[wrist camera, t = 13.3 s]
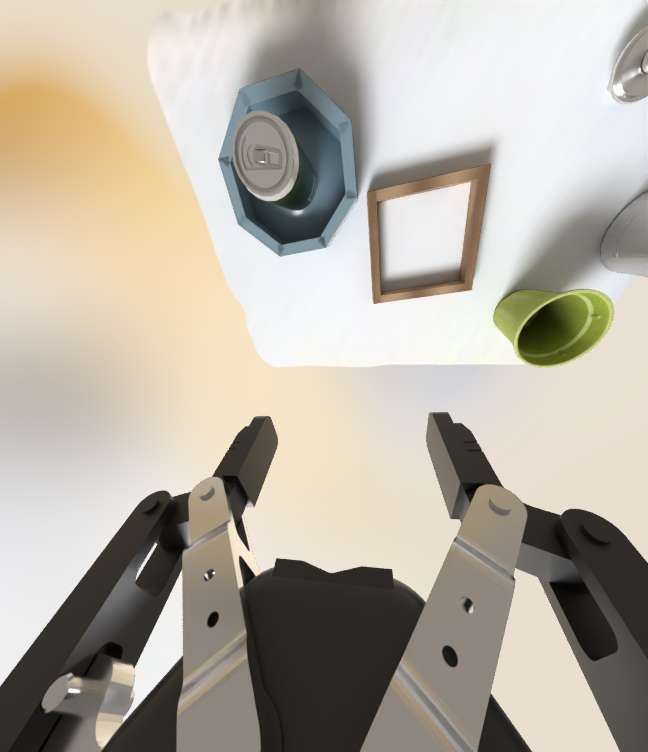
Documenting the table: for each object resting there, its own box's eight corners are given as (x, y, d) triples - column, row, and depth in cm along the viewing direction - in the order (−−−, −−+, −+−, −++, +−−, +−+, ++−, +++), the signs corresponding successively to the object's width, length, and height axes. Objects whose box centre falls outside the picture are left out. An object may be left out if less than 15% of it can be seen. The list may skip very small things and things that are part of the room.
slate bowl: (347, 80, 24) (346, 51, 20) (359, 240, 31) (360, 241, 27) (222, 121, 26) (200, 102, 22) (261, 259, 34) (249, 262, 30)
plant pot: (567, 273, 30) (635, 285, 23) (539, 339, 35) (588, 366, 28) (490, 279, 32) (531, 293, 24) (474, 342, 37) (504, 369, 29)
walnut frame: (482, 168, 26) (491, 163, 24) (465, 287, 33) (471, 290, 31) (366, 194, 28) (367, 192, 27) (372, 300, 35) (373, 303, 33)
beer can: (320, 158, 26) (299, 112, 16) (314, 214, 29) (293, 205, 19) (275, 150, 26) (225, 99, 16) (273, 207, 29) (231, 194, 19)
